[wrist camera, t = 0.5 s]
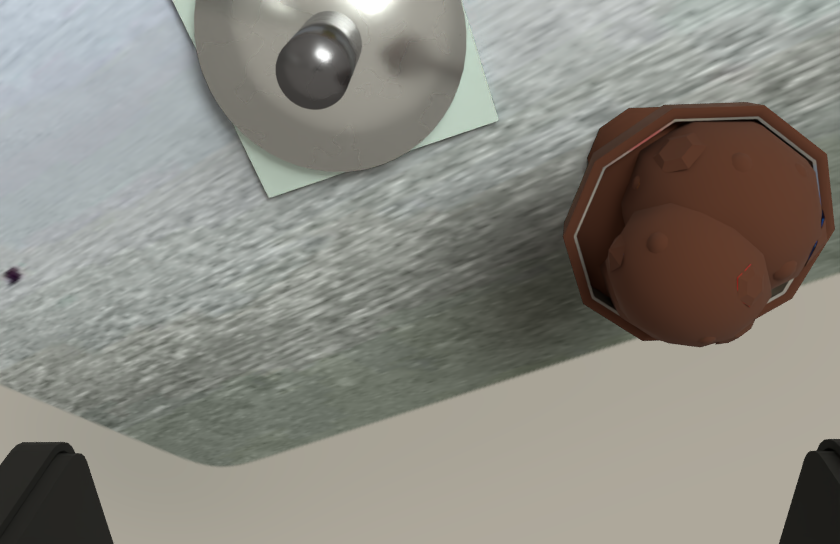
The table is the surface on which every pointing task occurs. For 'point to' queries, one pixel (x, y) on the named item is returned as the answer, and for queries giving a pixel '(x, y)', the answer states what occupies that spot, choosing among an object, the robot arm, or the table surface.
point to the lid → (332, 74)
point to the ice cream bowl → (697, 220)
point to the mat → (462, 115)
